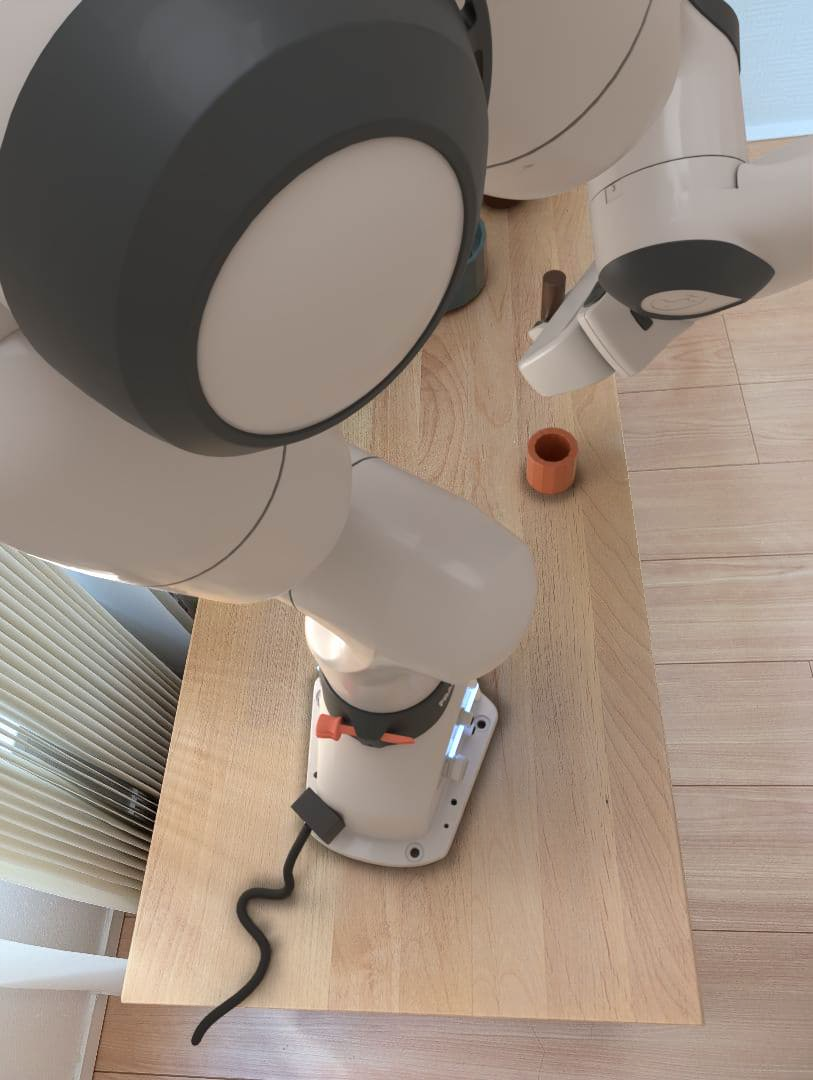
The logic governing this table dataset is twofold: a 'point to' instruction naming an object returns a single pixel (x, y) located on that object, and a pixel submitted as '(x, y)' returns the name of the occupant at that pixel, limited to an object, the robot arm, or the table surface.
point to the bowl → (473, 270)
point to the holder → (551, 460)
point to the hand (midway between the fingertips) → (544, 323)
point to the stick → (552, 292)
